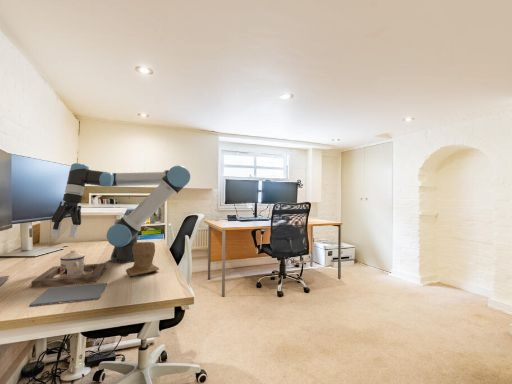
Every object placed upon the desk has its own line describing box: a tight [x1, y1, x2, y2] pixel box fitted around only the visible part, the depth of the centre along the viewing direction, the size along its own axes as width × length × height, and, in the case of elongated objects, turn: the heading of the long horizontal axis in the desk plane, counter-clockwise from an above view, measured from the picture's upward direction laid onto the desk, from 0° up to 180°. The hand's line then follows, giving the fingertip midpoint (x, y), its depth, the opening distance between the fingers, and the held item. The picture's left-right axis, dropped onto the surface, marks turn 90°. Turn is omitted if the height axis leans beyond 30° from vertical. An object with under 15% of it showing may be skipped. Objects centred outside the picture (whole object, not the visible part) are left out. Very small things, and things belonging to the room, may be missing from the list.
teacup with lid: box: [59, 249, 86, 277], centre depth 115 cm, size 12×9×12 cm
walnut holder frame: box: [30, 262, 107, 289], centre depth 115 cm, size 22×22×2 cm
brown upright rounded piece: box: [125, 241, 160, 277], centre depth 123 cm, size 15×12×15 cm
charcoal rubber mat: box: [28, 282, 108, 307], centre depth 96 cm, size 20×16×1 cm
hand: (63, 237), depth 124 cm, fingers open, 13 cm apart
